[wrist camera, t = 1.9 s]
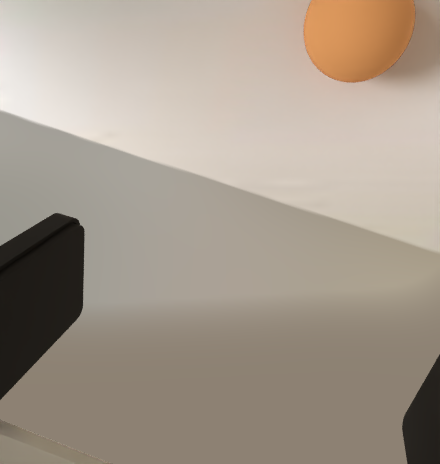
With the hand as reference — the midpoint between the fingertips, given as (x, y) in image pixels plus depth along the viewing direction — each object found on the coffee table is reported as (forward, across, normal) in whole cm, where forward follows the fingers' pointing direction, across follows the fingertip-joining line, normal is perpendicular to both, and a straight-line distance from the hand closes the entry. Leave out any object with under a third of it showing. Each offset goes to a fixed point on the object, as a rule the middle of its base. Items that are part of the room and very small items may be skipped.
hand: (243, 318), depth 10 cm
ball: (+19, -1, -7) cm, 20 cm away
